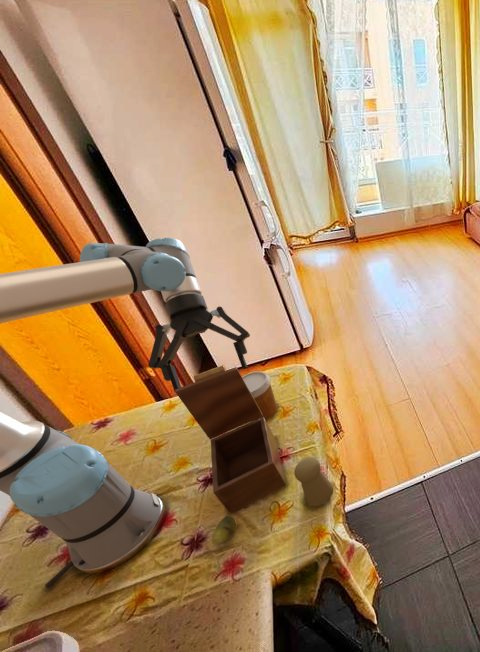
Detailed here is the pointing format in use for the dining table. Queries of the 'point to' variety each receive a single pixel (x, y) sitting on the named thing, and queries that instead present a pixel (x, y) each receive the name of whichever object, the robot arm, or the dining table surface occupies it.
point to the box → (245, 465)
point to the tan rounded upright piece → (313, 481)
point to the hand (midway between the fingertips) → (213, 379)
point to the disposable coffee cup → (261, 392)
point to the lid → (219, 401)
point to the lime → (224, 530)
